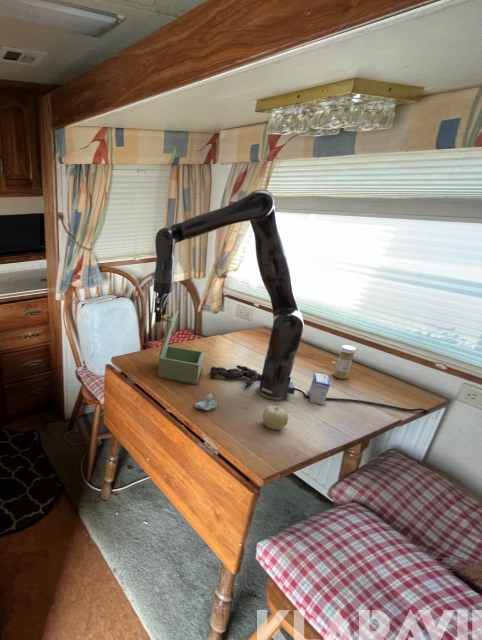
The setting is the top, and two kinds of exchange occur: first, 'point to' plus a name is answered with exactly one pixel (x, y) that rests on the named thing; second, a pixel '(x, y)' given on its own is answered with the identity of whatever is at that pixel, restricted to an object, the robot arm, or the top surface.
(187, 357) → the chest
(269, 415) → the fruit
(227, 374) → the robot figurine
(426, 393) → the top surface
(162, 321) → the lid
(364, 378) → the top surface
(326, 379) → the medicine box
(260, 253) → the robot arm
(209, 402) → the pacifier
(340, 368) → the sprinkles bottle
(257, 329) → the top surface
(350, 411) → the top surface
